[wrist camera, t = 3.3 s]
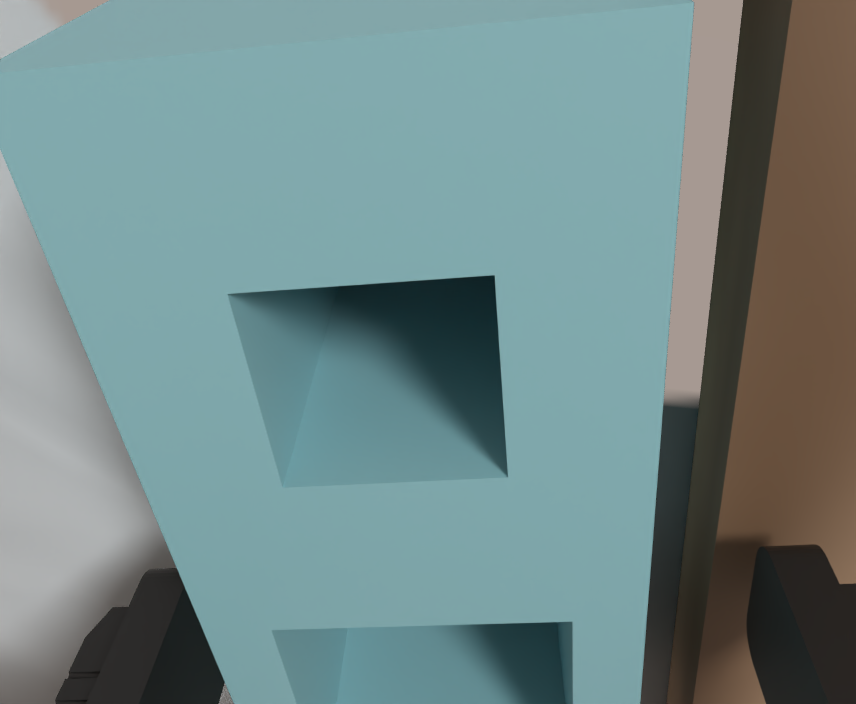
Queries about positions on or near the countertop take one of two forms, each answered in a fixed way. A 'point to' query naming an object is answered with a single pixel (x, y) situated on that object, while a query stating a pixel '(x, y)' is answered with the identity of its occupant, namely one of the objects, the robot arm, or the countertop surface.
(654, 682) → the countertop surface
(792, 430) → the jig
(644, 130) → the teal slotted block
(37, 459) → the countertop surface
